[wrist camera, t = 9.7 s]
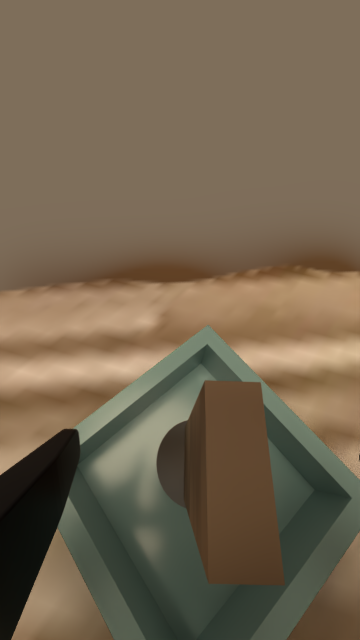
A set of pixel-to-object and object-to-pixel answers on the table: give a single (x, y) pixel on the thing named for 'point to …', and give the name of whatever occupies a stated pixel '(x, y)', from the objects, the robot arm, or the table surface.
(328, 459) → the green square tray
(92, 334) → the table surface
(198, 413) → the brown tower block
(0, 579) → the robot arm
